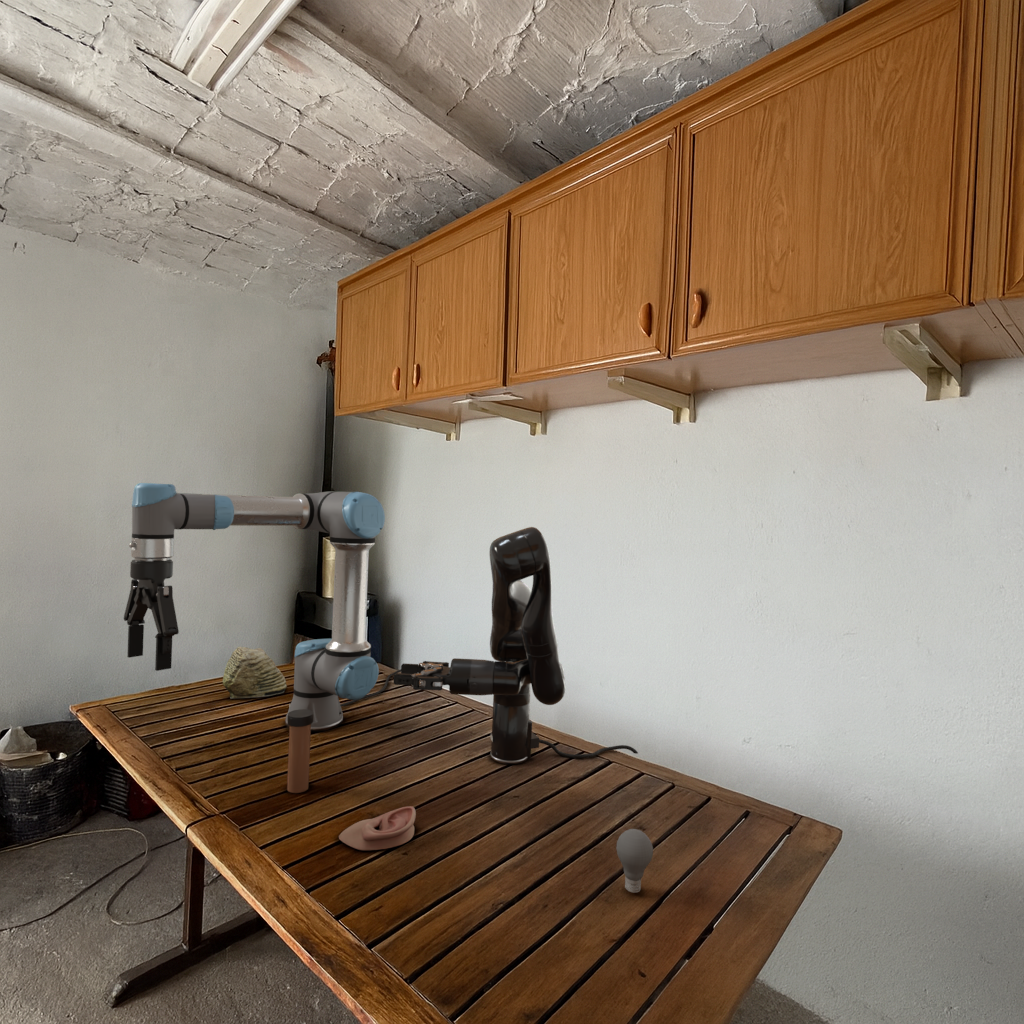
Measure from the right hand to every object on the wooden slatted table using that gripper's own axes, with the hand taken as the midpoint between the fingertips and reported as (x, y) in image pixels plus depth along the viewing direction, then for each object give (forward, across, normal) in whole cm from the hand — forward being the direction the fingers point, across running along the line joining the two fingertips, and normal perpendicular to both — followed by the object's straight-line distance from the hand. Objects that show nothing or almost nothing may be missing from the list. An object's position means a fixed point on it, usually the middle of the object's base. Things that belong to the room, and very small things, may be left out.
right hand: (397, 673), depth 137 cm
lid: (+21, 0, +10) cm, 23 cm away
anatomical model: (0, +17, +26) cm, 31 cm away
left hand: (+50, +7, -2) cm, 50 cm away
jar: (+21, 0, +26) cm, 33 cm away
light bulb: (-46, +31, +26) cm, 61 cm away
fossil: (+55, -61, +25) cm, 86 cm away
